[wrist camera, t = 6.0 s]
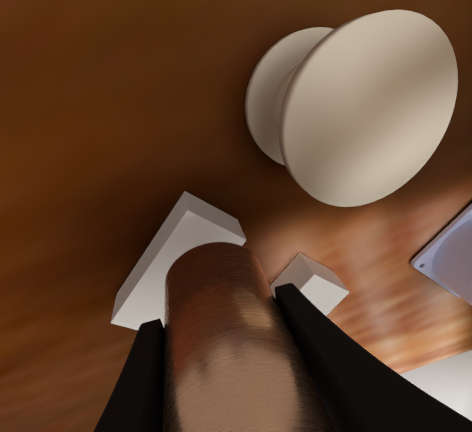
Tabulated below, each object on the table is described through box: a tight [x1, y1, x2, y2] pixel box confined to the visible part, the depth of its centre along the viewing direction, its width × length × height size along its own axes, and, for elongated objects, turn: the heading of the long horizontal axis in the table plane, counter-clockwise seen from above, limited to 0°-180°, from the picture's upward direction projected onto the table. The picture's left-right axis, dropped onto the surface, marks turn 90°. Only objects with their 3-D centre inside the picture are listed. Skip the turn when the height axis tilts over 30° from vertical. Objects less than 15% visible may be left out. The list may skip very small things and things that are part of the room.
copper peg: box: [163, 242, 336, 432], centre depth 8 cm, size 4×4×7 cm
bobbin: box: [245, 10, 458, 207], centre depth 13 cm, size 7×7×6 cm
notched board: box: [111, 191, 350, 330], centre depth 20 cm, size 14×9×2 cm, turn 54°
